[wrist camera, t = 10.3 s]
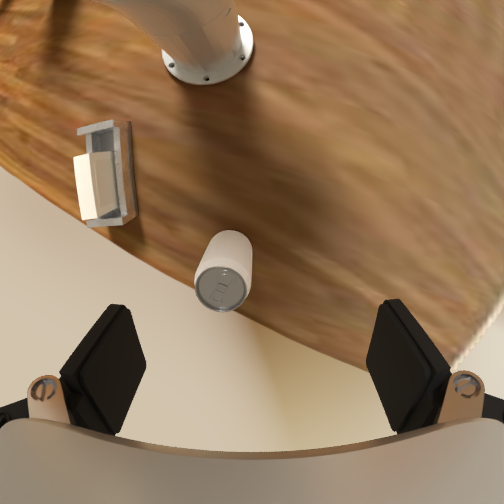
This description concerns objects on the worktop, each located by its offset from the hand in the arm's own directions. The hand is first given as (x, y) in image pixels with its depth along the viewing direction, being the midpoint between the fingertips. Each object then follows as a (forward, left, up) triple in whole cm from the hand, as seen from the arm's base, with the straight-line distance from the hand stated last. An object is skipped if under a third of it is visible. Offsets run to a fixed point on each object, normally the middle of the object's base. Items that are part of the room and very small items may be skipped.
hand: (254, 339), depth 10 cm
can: (+8, -4, -31) cm, 32 cm away
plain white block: (-4, -21, -29) cm, 36 cm away
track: (-5, -21, -30) cm, 37 cm away
